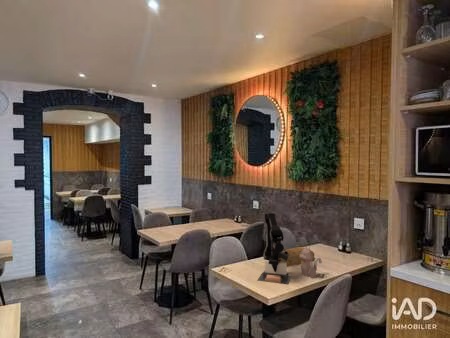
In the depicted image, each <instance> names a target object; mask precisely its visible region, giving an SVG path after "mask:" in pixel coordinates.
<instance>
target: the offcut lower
mask: <svg viewBox="0 0 450 338" xmlns="http://www.w3.org/2000/svg"><path fill="white" fill-rule="evenodd" d="M266 277H267V276H266ZM281 281H282V278H280V281H277V280H266V278H265V282H264V283H271V282H272V283H274V284H279V283H280V285H282V284H281Z"/></svg>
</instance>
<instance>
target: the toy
mask: <svg viewBox="0 0 450 338" xmlns="http://www.w3.org/2000/svg"><path fill="white" fill-rule="evenodd" d="M303 248H304V250H303V251H301V253H300V255H299V257H300V258H301V264H300V270H301V274H302V275H303V276H304V277H309V278H310V279H314V278H317V268H318V267H317V264H318V263H319V264H322V263H323V261H322V258H321V257H320V256H319V257H315V258H314V260H313V261H312V259H313V256H312V253H311V251H312V249H310V247H307V246H304V247H303Z"/></svg>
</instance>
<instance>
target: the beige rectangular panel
mask: <svg viewBox="0 0 450 338" xmlns="http://www.w3.org/2000/svg"><path fill="white" fill-rule="evenodd" d="M287 267H288V266H287V262H280V263H279V264H278V265H277V270H276V272H274V269H273V267H272V265H271V264H269V260H264V270H265V272H266V273H274V274H282V275H286V273H288V272H287V270H288V269H287Z"/></svg>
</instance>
